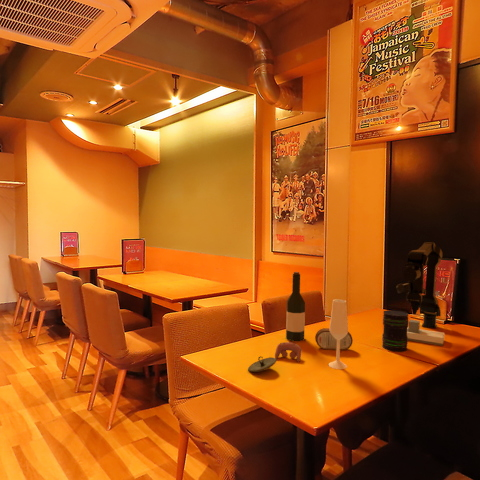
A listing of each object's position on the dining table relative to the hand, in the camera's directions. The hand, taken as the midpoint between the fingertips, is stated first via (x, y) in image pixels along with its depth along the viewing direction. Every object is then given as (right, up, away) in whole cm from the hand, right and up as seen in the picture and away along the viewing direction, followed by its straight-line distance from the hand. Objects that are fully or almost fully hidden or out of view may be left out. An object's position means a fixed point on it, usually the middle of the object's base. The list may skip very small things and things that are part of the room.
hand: (415, 312), depth 176 cm
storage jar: (-16, -12, -15) cm, 25 cm away
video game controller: (-62, -13, -29) cm, 70 cm away
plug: (-2, -11, -2) cm, 11 cm away
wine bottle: (-56, -11, -5) cm, 58 cm away
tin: (-42, -12, -18) cm, 48 cm away
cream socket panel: (-2, -12, -2) cm, 12 cm away
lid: (-73, -13, -41) cm, 85 cm away
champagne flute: (-45, -13, -36) cm, 59 cm away
